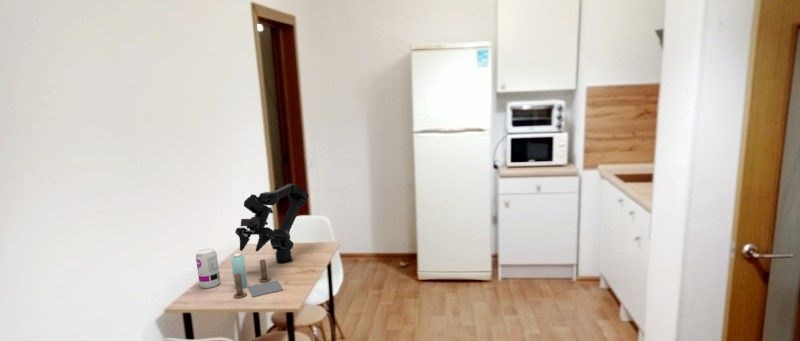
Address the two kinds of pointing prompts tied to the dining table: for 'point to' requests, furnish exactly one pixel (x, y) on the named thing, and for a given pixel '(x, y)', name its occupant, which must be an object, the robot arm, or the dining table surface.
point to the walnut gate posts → (239, 281)
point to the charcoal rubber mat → (265, 288)
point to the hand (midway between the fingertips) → (248, 250)
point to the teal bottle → (239, 268)
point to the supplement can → (207, 268)
